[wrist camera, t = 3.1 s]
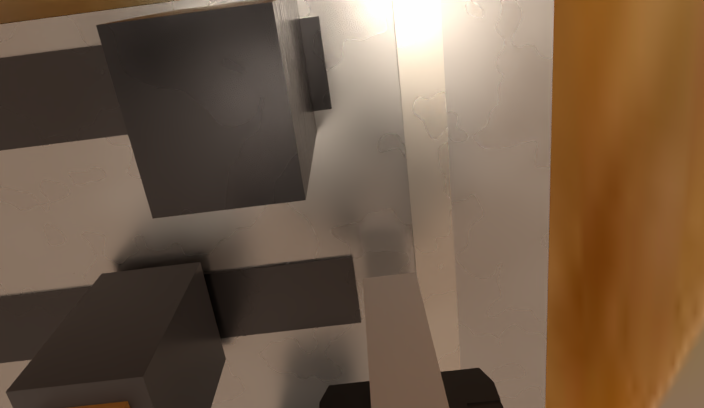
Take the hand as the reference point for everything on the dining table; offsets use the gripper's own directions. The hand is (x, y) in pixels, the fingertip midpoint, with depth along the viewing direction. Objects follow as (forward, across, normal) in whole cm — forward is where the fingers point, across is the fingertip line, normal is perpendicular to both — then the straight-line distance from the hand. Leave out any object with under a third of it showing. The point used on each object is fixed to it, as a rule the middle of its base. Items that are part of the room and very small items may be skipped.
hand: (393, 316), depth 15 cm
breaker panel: (+4, -7, 0) cm, 8 cm away
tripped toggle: (+1, -7, 0) cm, 7 cm away
